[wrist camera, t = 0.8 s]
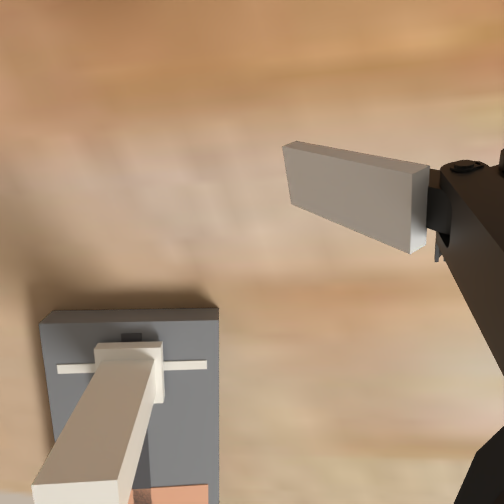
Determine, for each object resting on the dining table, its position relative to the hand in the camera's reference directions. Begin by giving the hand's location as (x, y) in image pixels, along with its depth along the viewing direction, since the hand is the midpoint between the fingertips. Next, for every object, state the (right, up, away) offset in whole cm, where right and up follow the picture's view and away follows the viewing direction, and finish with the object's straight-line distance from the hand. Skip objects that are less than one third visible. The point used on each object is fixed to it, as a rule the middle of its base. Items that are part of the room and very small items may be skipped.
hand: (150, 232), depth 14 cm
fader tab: (-6, -10, +16) cm, 20 cm away
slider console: (-6, -17, +21) cm, 28 cm away
